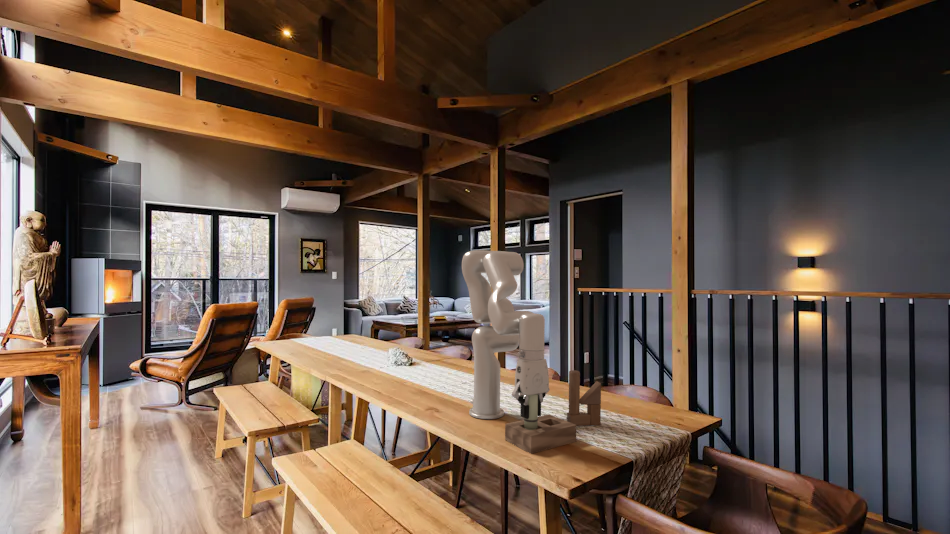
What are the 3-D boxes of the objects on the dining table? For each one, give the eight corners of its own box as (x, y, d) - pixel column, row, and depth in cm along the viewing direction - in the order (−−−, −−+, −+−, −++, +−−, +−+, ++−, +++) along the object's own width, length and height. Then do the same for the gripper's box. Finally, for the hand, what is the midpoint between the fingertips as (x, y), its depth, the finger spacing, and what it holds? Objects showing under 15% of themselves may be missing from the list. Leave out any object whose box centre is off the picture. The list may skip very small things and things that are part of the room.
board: (505, 440, 136) (505, 423, 137) (548, 429, 146) (549, 414, 147) (530, 453, 126) (531, 435, 127) (576, 441, 136) (576, 424, 137)
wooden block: (600, 425, 151) (601, 372, 152) (570, 426, 150) (570, 372, 150) (596, 422, 155) (597, 369, 155) (566, 423, 154) (567, 370, 154)
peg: (521, 432, 135) (521, 385, 135) (531, 430, 137) (531, 384, 137) (529, 436, 131) (530, 388, 132) (540, 434, 134) (541, 387, 134)
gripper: (517, 359, 127) (516, 424, 127) (560, 354, 136) (560, 415, 136) (501, 355, 133) (500, 417, 133) (543, 350, 142) (543, 408, 142)
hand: (530, 415), depth 134 cm, fingers closed on peg, 4 cm apart
